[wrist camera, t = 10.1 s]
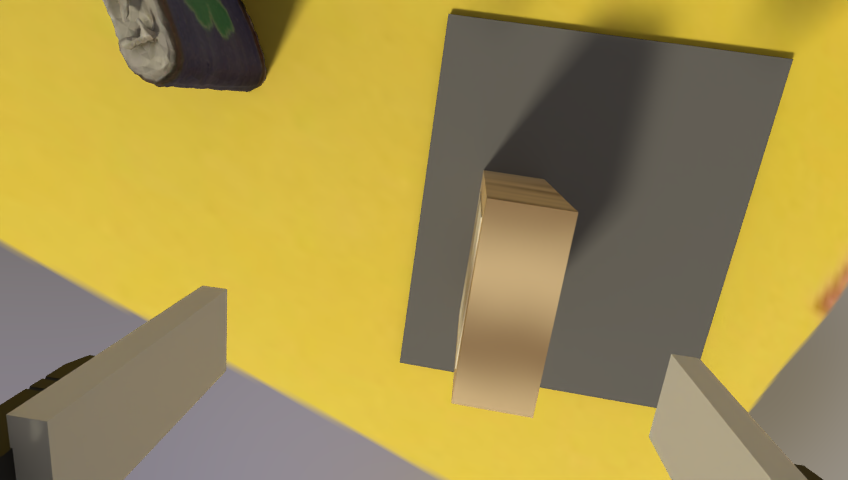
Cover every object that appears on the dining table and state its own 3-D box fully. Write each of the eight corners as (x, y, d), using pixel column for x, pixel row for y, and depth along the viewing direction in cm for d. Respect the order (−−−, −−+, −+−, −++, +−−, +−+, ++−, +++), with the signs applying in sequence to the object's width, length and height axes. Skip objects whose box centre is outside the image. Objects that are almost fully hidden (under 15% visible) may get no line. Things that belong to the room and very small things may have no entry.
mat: (449, 15, 28) (448, 14, 27) (788, 59, 26) (792, 59, 26) (400, 359, 33) (399, 362, 33) (681, 409, 32) (683, 412, 31)
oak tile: (482, 170, 29) (485, 197, 19) (544, 179, 29) (578, 212, 19) (458, 313, 31) (450, 402, 22) (515, 323, 31) (532, 417, 21)
